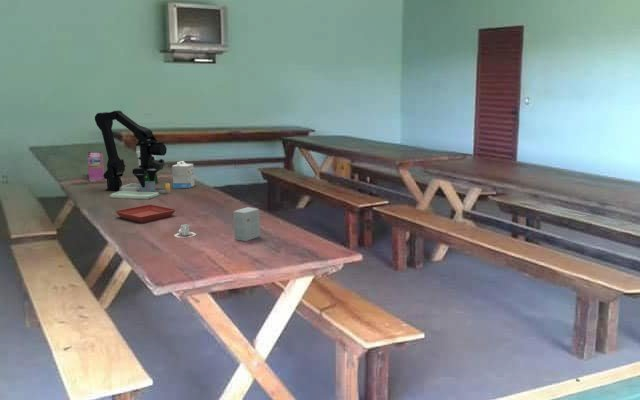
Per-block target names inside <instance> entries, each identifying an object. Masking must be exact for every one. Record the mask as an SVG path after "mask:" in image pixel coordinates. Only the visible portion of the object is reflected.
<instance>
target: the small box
mask: <svg viewBox="0 0 640 400" xmlns="http://www.w3.org/2000/svg"><path fill="white" fill-rule="evenodd" d="M260 228H261V227H260V209H259V208H255V207H249V206H248V207H243V208H240V209H237V210H233V230H234V231H233V234H234V240H237V241H242V242H248V241H251V240H253V239H256V238H259V237H260V236H261V234H260V231H261V229H260Z"/></svg>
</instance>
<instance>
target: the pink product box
mask: <svg viewBox="0 0 640 400" xmlns="http://www.w3.org/2000/svg"><path fill="white" fill-rule="evenodd" d="M87 169H88V171H87V172H88V181H89V180H103V181H105V178H104V176H103V175H104V173H105V170H104V159H103V152H102V151H99V152H90V151H88V153H87Z"/></svg>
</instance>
